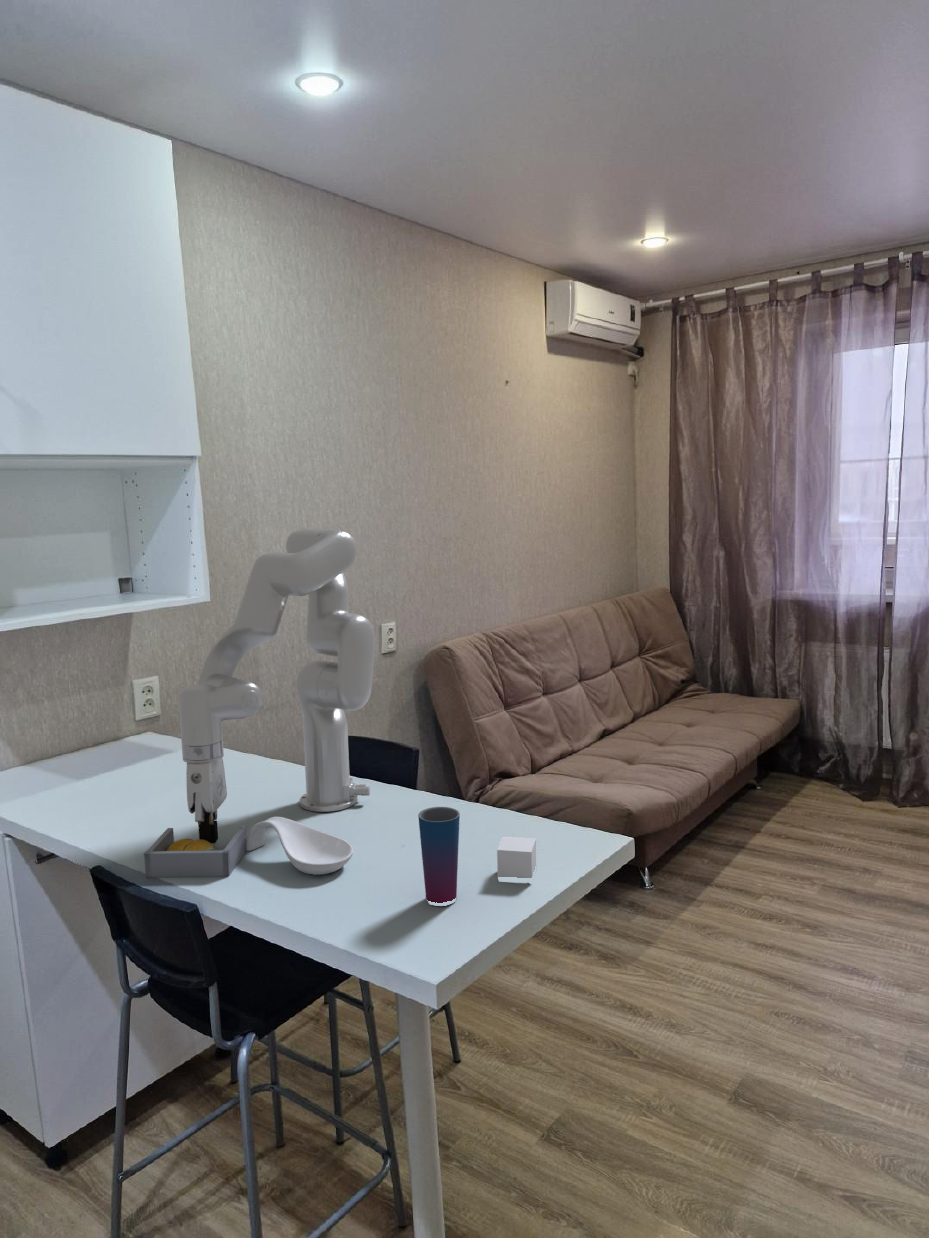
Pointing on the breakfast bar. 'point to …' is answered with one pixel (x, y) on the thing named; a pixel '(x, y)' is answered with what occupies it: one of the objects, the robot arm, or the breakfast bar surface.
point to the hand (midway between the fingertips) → (209, 841)
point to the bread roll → (191, 845)
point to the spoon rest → (304, 845)
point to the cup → (439, 852)
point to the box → (193, 858)
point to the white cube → (516, 857)
